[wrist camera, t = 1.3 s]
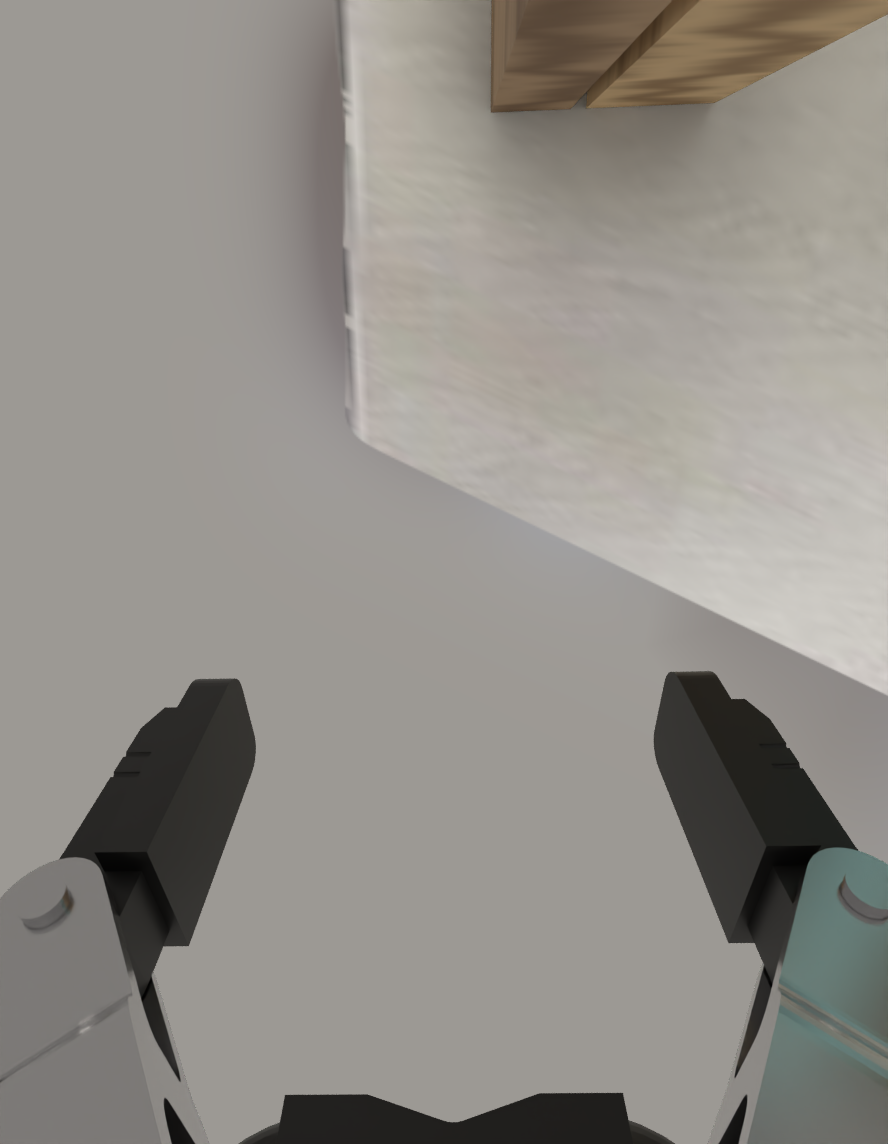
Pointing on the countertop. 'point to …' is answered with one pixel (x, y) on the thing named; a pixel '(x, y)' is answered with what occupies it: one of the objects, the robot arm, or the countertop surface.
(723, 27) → the stand
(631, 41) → the step
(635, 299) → the countertop surface
